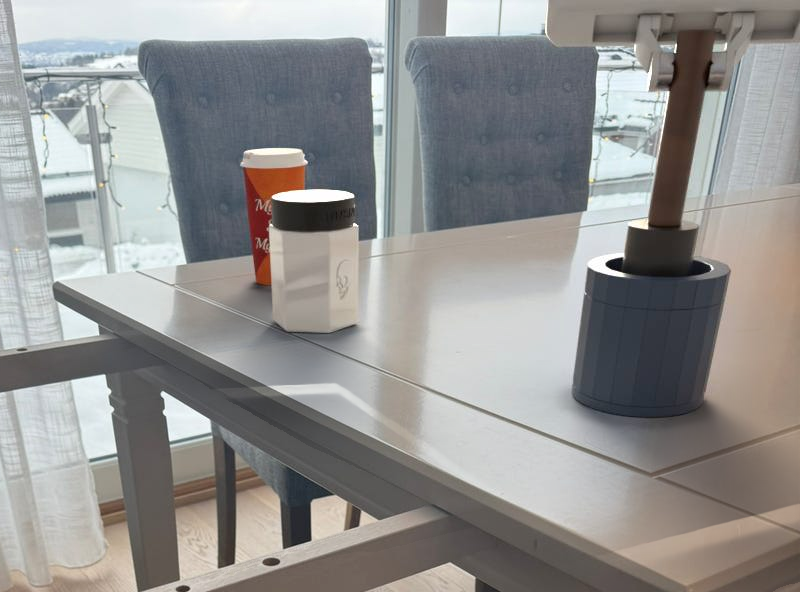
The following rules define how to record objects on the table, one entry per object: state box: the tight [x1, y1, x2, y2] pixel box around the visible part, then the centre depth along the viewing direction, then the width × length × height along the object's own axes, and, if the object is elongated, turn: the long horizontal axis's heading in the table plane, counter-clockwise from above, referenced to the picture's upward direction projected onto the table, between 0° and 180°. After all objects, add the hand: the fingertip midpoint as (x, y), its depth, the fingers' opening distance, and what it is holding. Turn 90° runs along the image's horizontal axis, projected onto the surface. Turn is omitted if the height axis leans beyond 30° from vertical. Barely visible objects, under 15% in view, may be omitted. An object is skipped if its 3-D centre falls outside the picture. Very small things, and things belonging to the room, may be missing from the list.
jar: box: [269, 189, 360, 334], centre depth 93 cm, size 9×8×12 cm
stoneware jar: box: [571, 252, 732, 418], centre depth 73 cm, size 10×10×10 cm
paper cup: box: [239, 147, 309, 287], centre depth 109 cm, size 8×8×14 cm
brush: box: [621, 29, 716, 277], centre depth 66 cm, size 5×5×16 cm
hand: (689, 85), depth 63 cm, fingers closed on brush, 2 cm apart
